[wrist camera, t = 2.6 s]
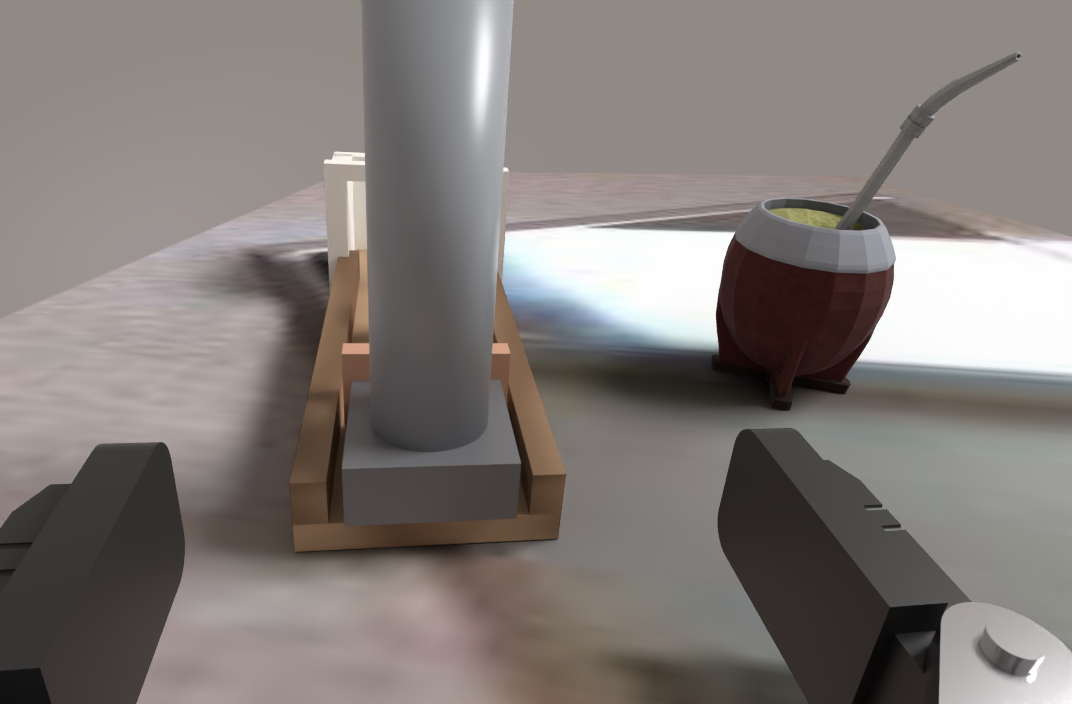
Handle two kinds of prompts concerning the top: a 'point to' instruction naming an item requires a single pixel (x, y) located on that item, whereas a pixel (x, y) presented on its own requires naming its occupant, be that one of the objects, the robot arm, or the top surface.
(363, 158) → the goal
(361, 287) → the track
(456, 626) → the top surface
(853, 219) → the mate gourd
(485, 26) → the grey tall cylindrical piece
